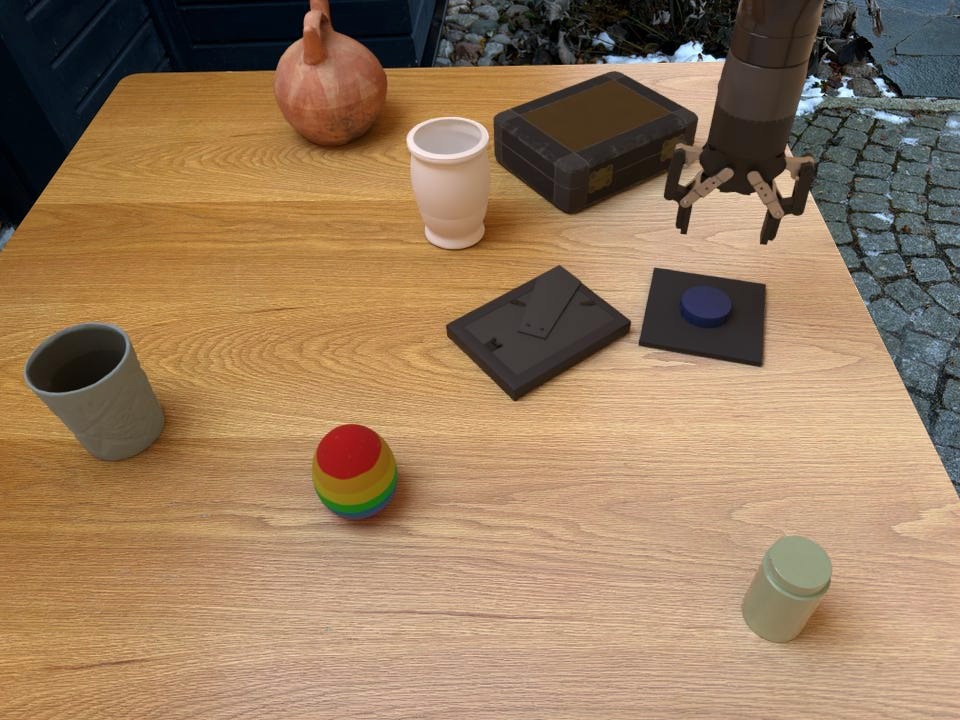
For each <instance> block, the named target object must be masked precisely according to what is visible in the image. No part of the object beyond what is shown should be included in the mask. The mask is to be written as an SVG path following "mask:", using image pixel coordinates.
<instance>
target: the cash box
mask: <svg viewBox="0 0 960 720" xmlns="http://www.w3.org/2000/svg"><path fill="white" fill-rule="evenodd" d="M698 123H699V116H698V115H697V114H696V113H695V112H694V111H692V110H690V109H689V108H687V107H685V106H683V105H681V104H679V103H678V102H676V101H674V100H672V99H670V98H669V97H667V96H665V95H663V94H662V93H659V92H658V91H656V90H654V89H652V88H650V87H649V86H646V85H644V84H643V83H641V82H639V81H638V80H635V79H634V78H631V77H630V76H628V75H627V74H624V73H623V72H620V71H617V70H613V71H607V72H605V73H602V74H600V75H597V76H595V77H591V78H589V79H586V80H584V81H580V82H579V83H575V84H573V85H570V86H567V87H565V88H561V89H559V90H557V91H554V92H551V93H548V94H545V95H543V96H540V97H538V98H535V99H532V100H529V101H526V102H524V103H522V104H519V105H516V106H513V107H511V108H508V109H505V110H503V111H500V112H498V113H497V114H495V115H494V116H493V151H494V153H493V154H494V155H493V156H494V158H495V160H496V162H497V163H499V164H500V165H502V166H503V167H504V168H505V169H507V170H508V171H509V172H510V173H512V174H513V175H515V176H516V177H517V178H518V179H520V180H521V181H522V182H523V183H525V184H527V186H529V187H530V188H531V189H532V190H534V191H535V192H536V193H538V194H540V195H541V196H542V197H543V198H545V199H546V200H547V201H549V202H550V203H551V204H552V205H554V206H555V207H556V208H557V209H559V210H560V211H563V212H566V213H575V212H579V211H580V210H583V209H585V208H587V207H589V206H591V205H594V204H596V203H598V202H601V201H603V200H605V199H607V198H610V197H612V196H614V195H616V194H618V193H621V192H623V191H625V190H627V189H630V188H632V187H634V186H636V185H638V184H641V183H643V182H645V181H647V180H650V179H652V178H654V177H657V176H659V175H661V174H663V173H665V172H667V171H669V168H670V163H671V159H672V155H673V151H674V147H675V143H676V142H677V141H678V140H681V139H682V140H685V141H686V142H687V146H693V147H694V144H695V140H696V134H697V129H698Z"/></svg>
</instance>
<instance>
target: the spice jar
mask: <svg viewBox="0 0 960 720" xmlns="http://www.w3.org/2000/svg"><path fill="white" fill-rule="evenodd" d="M832 576H833V564H832V561H831V558H830V556H829V554H828V553H827V552H826V550H825V549H824V548H823V547H822V546H821V545H820V544H819V543H817V542H815V541H814V540H812V539H810V538H807V537H805V536H804V537H803V536H800V535H787V536H783V537H780V538H778V539H777V540H775V541H774V542H773V543H772V545H770V547H769V548H768V549H767V550H766V552H765V553H764V555H763V557H762V560H761V561H760V563H759V565H758V567H757V570H756V571H755V574H754V576H753V578H752V580H751V582H750V584H749V586H748V588H747V591H746V592H745V594H744V597H743V598H742V601H741V612H742V616H743V619H744V621H745V622H746V624H747V625H748V627H749V628H750V629H751V630H752V632H754V633H755V634H756V635H758V637H760V638H762V639H764V640H766V641H770V642H774V643H786V642H790V641H792V640H794V639H796V638H797V637H798V636H799V635H800V634H801V632H803V631H802V630H803V629H804V628H805V626H806V625H807V623H808V621H809V620H810V618H811V617H812V616H813V614H814V612H815V611H816V610H817V607H818V606H819V605H820V603H821V601H822V600H823V598H825V596H826V594H827V593H828V591H829V589H830V587H831V584H832V583H831V582H832Z"/></svg>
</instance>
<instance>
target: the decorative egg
mask: <svg viewBox="0 0 960 720" xmlns="http://www.w3.org/2000/svg"><path fill="white" fill-rule="evenodd" d="M398 472H399V471H398V465H397V462H396V458H395V455H394V452H393V451H392V449H391V447H390V445H389V444H388V442H387V441H386V439H384V438H383V436H381V435H380V434H379V433H378V432H376V431H375V430H373V429H372V428H370V427H367V426H366V425H363V424H357V423H345V424H341V425H339V426H336V427H333V428H332V429H330V430H329V431H328V432H327V433H326V434H325V435H324V437H322V438H321V440H320V442H319V443H318V444H317V447H316V448H315V450H314V454H313V457H312V463H311V477H312V478H311V480H312V484H313V488H314V490H315V492H316V493H315V494H316V495H317V497H318V499H319V500H320V501H321V503H322V504H323V505H324V507H326V508H327V510H329V511H330V512H332V513H333V514H335V515H337V516H338V517H341V518H344V519H349V520H364V519H368V518H370V517H372V516H375V515H376V514H378V513H380V512H381V511H382V510H383V509H384V508H385V507H386V506H387V505H388V504H389V503H390V501H391V499H392V498H393V497H394V494H395V492H396V489H397V484H398V474H399V473H398Z"/></svg>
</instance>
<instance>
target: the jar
mask: <svg viewBox="0 0 960 720" xmlns="http://www.w3.org/2000/svg"><path fill="white" fill-rule="evenodd" d="M489 144H490V137H489V132H488V130H487V129H486V127H485V126H484V125H482V124H481V123H479V122H477V121H475V120H472V119H469V118H465V117H458V116H444V117H443V116H440V117H435V118H431V119H427V120H424V121H422V122H420V123H418V124H416V125H415V126H413V127H412V128H411V129H410V130H409V132H408V133H407V135H406V146H407V149H408V151H409V153H410V154H411V157H410V166H409V169H410V171H409V172H410V183H411V188H412V193H413V196H414V199H415V201H416V204H417V208H418V212H419V215H420V218H421V219H422V222H424V224H425V227H424V235H425V237H426V239H427V241H428V242H429V243H431V244H432V245H434V246H436V247H437V248H442V249H445V250H462V249H466V248H470V247H472V246H474V245H476V244H478V242H480V241H481V240H482V238H483V237H484V235H485V231H486V227H485V224H484V222H483V221H484V220H485V217H486V214H487V210H488V204H489V196H490V191H491V181H492V180H491V179H492V178H491V176H492V175H491V165H490V159H489V154H488V152H487V149H488V147H489Z"/></svg>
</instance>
